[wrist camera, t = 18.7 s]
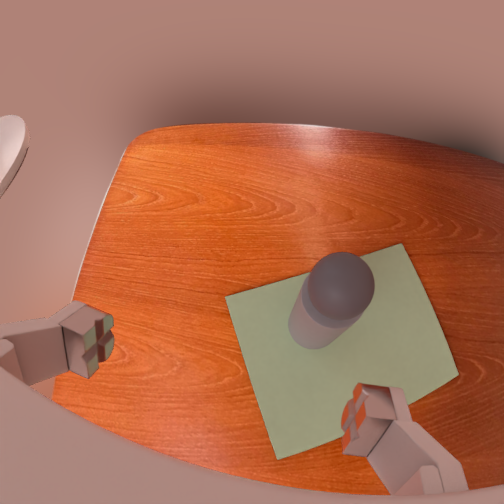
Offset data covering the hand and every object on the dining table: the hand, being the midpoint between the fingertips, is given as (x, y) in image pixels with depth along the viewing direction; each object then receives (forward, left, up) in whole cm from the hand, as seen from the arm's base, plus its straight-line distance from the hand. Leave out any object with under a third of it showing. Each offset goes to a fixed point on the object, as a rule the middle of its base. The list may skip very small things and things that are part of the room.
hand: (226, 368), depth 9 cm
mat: (+11, +1, -19) cm, 22 cm away
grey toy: (+8, +4, -19) cm, 21 cm away
